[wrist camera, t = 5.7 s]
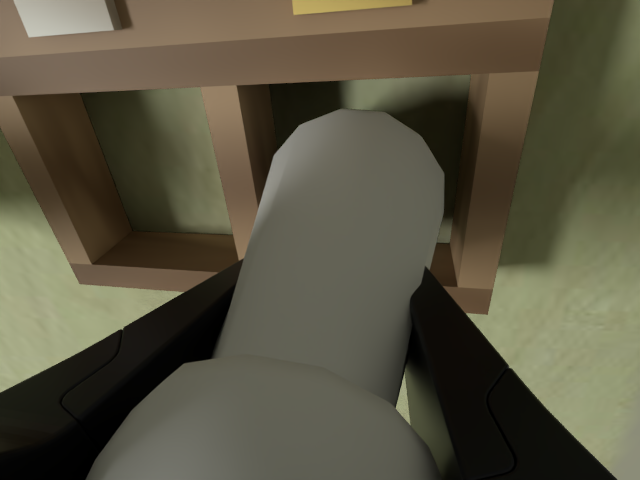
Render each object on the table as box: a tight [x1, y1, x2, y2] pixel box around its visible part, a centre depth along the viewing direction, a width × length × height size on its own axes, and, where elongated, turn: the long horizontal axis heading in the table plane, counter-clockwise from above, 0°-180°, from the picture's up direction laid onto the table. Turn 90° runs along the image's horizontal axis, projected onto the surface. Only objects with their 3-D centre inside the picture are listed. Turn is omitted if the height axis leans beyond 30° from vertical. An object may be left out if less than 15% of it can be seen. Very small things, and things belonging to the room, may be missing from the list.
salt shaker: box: [86, 108, 444, 480], centre depth 9 cm, size 6×6×13 cm
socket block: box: [0, 0, 554, 315], centre depth 13 cm, size 14×18×3 cm
